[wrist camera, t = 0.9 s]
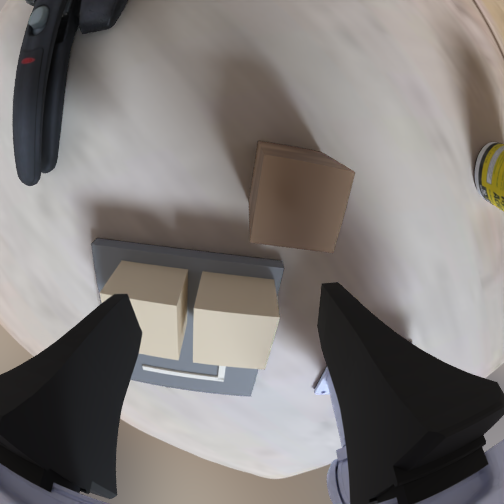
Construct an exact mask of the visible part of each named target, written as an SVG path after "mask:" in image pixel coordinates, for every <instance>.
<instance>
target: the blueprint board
mask: <svg viewBox="0 0 504 504" xmlns="http://www.w3.org/2000/svg"><path fill="white" fill-rule="evenodd" d="M91 246H92V254H93V261H94V267H95V273H96V279H97V285H98V290H99V295H100V300H101V304H102V303H103V302H104V301H105V300H107V299H108V298H109V297H111V296H112V295H114V294H128V296H129V299H130V302H131V304H132V307H133V310H134V312H135V315H136V318H137V320H138V323H139V325H140V328H141V330H142V339H141V345H140V349H139V354H138V358H137V361H136V364H135V367H134V370H133V373H132V376H131V379H130V380H134V381H139V382H144V383H149V384H154V385H159V386H165V387H171V388H177V389H183V390H190V391H198V392H206V393H215V394H225V395H236V396H251V393H252V390H253V386H254V383H255V379H256V375H257V372H258V369H265V367H266V364H267V361H268V357H269V354H270V351H271V347H272V344H273V340H274V337H275V333H276V330H277V326H278V323H279V319H280V314H279V308H278V301H277V295H278V291H279V287H280V283H281V279H282V275H283V271H284V266H283V261H279V260H271V259H262V258H254V257H246V256H237V255H229V254H221V253H212V252H204V251H196V250H188V249H179V248H171V247H163V246H155V245H147V244H139V243H131V242H123V241H115V240H107V239H99V238H97V239H96V240H95V241H94V242H93V243H92V244H91Z"/></svg>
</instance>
